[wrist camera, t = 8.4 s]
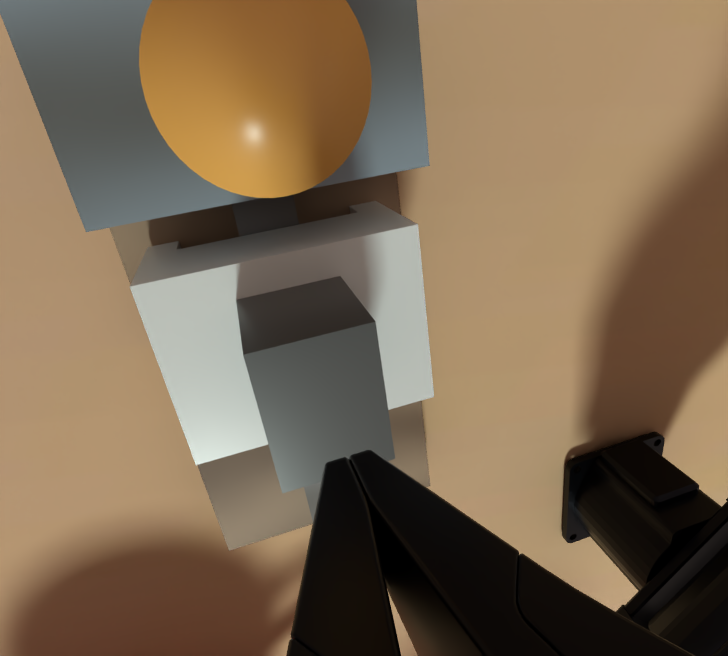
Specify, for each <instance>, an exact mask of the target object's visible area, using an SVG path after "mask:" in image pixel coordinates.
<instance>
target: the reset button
mask: <svg viewBox="0 0 728 656" xmlns="http://www.w3.org/2000/svg"><path fill="white" fill-rule="evenodd" d="M139 68H140V77H141V84H142V88H143V92H144V97H145V100H146V103H147V106H148V109H149V111H150V114H151V117H152V118H153V120H154V122H155V124H156V126H157V128H158V130H159V132H160V134H161V135H162V137H163V138H164V140H165V141H166V143H167V144H168V146H169V147H170V148H171V149H172V150H173V152H174V153H175V154H176V155H177V156H178V157H179V159H180V160H182V161H183V162H184V163H185V164H186V165H187V166H188V167H189V168H190V169H191V170H192V171H194V172H195V173H197V174H198V175H199V176H201V177H202V178H203V179H205V180H207V181H209V182H210V183H212V184H214V185H216V186H217V187H220V188H222V189H225V190H227V191H230V192H232V193H236V194H240V195H243V196H249V197H256V198H277V197H285V196H289V195H293V194H297V193H300V192H303V191H305V190H307V189H310V188H312V187H314V186H316V185H317V184H319V183H321V182H322V181H324V180H325V179H326V178H328V177H329V176H330V175H332V174H333V173H334V172H335V171H336V170H337V169H338V168H339V167H340V166H341V165H342V164H343V163H344V162H345V160H346V159H347V158H348V156H349V155H350V154H351V152H352V151H353V149H354V147H355V146H356V144H357V142H358V140H359V138H360V136H361V133H362V131H363V129H364V126H365V123H366V119H367V116H368V112H369V106H370V100H371V87H372V78H371V65H370V59H369V53H368V49H367V45H366V42H365V38H364V35H363V32H362V30H361V28H360V25H359V23H358V20H357V18H356V16H355V15H354V13H353V11H352V9H351V7H350V6H349V4H348V2H347V1H346V0H152V2H151V4H150V6H149V9H148V11H147V13H146V17H145V20H144V24H143V27H142V32H141V39H140V46H139Z"/></svg>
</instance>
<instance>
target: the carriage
mask: <svg viewBox="0 0 728 656" xmlns="http://www.w3.org/2000/svg"><path fill="white" fill-rule="evenodd" d="M349 208H350V214H347V215H342V216H337V217H332V218H328V219H323V220H318V221H313V222H308V223H303V224H298V225H294V226H289V227H284V228H279V229H274V230H269V231H265V232H260V233H255V234H250V235H245V236H240V237H235V238H231V239H226V240H221V241H216V242H211V243H206V244H202V245H197V246H192V247H187V248H182V249H181V247H180V244H179V241H175V242H170V243H165V244H161V245H156V246H151V247H148V248H147V250H146V252H145V255H144V257H143V259H142V261H141V263H140V265H139V267H138V270H137V272H136V274H135V276H134V278H133V280H132V283H131V285H130V289H131V292H132V294H133V297H134V300H135V302H136V305H137V308H138V311H139V313H140V316H141V319H142V321H143V324H144V327H145V329H146V332H147V335H148V337H149V340H150V343H151V345H152V348H153V351H154V354H155V356H156V359H157V362H158V364H159V367H160V370H161V372H162V375H163V378H164V380H165V383H166V386H167V388H168V391H169V394H170V397H171V399H172V402H173V405H174V407H175V410H176V413H177V415H178V418H179V421H180V423H181V426H182V429H183V431H184V434H185V437H186V439H187V442H188V445H189V448H190V450H191V453H192V456H193V458H194V461H195V464H196V465H198V464H202V463H205V462H209V461H212V460H216V459H219V458H223V457H226V456H230V455H233V454H237V453H240V452H244V451H247V450H251V449H254V448H258V447H261V446H265V445H269V448H270V452H271V455H272V459H273V462H274V466H275V469H276V473H277V476H278V480H279V483H280V487H281V490H282V494H283V493H286V492H289V491H292V490H296V489H299V488H302V487H305V486H309V485H312V484H315V483H318V482H321V480H322V475H323V470H324V466H325V464H326V463H327V462H329V461H333V460H336V459H339V458H343V457H346V458H348V459H349V457H350V456H351V455H352V454H356V453H359V452H362V451H365V450H372V451H374V452H375V453H377V454H378V455H380V456H381V457H383V458H384V459H386V460H387V461H390V460H393V459H395V453H394V446H393V439H392V432H391V425H390V418H389V411H388V410H390V409H393V408H397V407H400V406H404V405H407V404H411V403H414V402H418V401H421V400H425V399H428V398H431V397H434V390H433V379H432V369H431V358H430V348H429V337H428V326H427V316H426V305H425V295H424V284H423V273H422V263H421V252H420V242H419V231H418V224H416V223H415V222H413V221H411V220H409V219H407V218H406V217H404V216H402V215H400V214H398V213H397V212H395V211H393V210H391V209H389V208H388V207H386V206H384V205H382V204H380V203H379V202H377V201H372V202H367V203H362V204H357V205H352V206H349Z"/></svg>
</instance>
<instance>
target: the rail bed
mask: <svg viewBox="0 0 728 656" xmlns="http://www.w3.org/2000/svg"><path fill="white" fill-rule="evenodd" d="M346 1H347V2H348V4H349V6H350V7H351V9H352V11H353V13H354V15H355V16H356V18H357V20H358V23H359V25H360V28H361V30H362V32H363V35H364V38H365V42H366V45H367V49H368V53H369V59H370V65H371V78H372V87H371V100H370V106H369V112H368V116H367V119H366V123H365V126H364V129H363V131H362V133H361V136H360V138H359V140H358V142H357V144H356V146H355V147H354V149H353V151H352V152H351V154H350V155H349V156H348V158H347V159H346V160H345V162H344V163H343V164H342V165H341V166H340V167H339V168H338V169H337V170H336V171H335V172H334V173H333V174H332V175H330V176H329V177H328V178H326V179H325V180H324V181H322V182H321V183H319V184H317V185H316V186H314V187H312V188H310V189H307V190H305V191H303V192H300V193H297V194H293V195H289V196H285V197H277V198H256V197H249V196H243V195H240V194H236V193H232V192H230V191H227V190H225V189H222V188H220V187H217V186H216V185H214V184H212V183H210V182H209V181H207V180H205V179H203V178H202V177H201V176H199V175H198V174H197V173H195V172H194V171H192V170H191V169H190V168H189V167H188V166H187V165H186V164H185V163H184V162H183V161H182V160H180V159H179V157H178V156H177V155H176V154H175V153H174V152H173V150H172V149H171V148H170V147H169V146H168V144H167V143H166V141H165V140H164V138H163V137H162V135H161V134H160V132H159V130H158V128H157V126H156V124H155V122H154V120H153V118H152V117H151V114H150V111H149V109H148V106H147V103H146V100H145V97H144V92H143V88H142V84H141V77H140V68H139V46H140V39H141V32H142V27H143V24H144V20H145V17H146V13H147V11H148V9H149V6H150V4H151V2H152V0H0V14H1V17H2V19H3V22H4V24H5V27H6V29H7V32H8V34H9V37H10V39H11V42H12V45H13V47H14V50H15V52H16V55H17V57H18V60H19V62H20V65H21V67H22V70H23V73H24V75H25V78H26V80H27V83H28V85H29V88H30V90H31V93H32V95H33V98H34V101H35V103H36V106H37V108H38V111H39V113H40V116H41V118H42V121H43V123H44V126H45V129H46V131H47V134H48V136H49V139H50V141H51V144H52V146H53V149H54V151H55V154H56V157H57V159H58V162H59V164H60V167H61V169H62V172H63V174H64V177H65V179H66V182H67V185H68V187H69V190H70V192H71V195H72V197H73V200H74V202H75V205H76V207H77V210H78V213H79V215H80V218H81V220H82V223H83V225H84V228H85V230H86V232H89V231H94V230H99V229H105V228H110V231H111V233H112V236H113V239H114V241H115V244H116V247H117V250H118V252H119V255H120V258H121V260H122V263H123V266H124V268H125V271H126V274H127V277H128V279H129V282H130V285H131V283H132V280H133V278H134V276H135V274H136V272H137V270H138V267H139V265H140V263H141V261H142V259H143V257H144V255H145V252H146V250H147V248H148V247H151V246H156V245H161V244H165V243H170V242H175V241H179V244H180V247H181V249H182V248H187V247H192V246H197V245H202V244H206V243H211V242H216V241H221V240H226V239H231V238H235V237H240V236H245V235H250V234H255V233H260V232H265V231H269V230H274V229H279V228H284V227H289V226H294V225H298V224H303V223H308V222H313V221H318V220H323V219H328V218H332V217H337V216H342V215H347V214H350V208H349V206H352V205H357V204H362V203H367V202H372V201H377V202H379V203H380V204H382V205H384V206H386V207H388V208H389V209H391V210H393V211H395V212H397V213H398V214H400V215H401V211H400V202H399V193H398V183H397V174H396V172H399V171H404V170H410V169H415V168H420V167H425V166H430V165H429V153H428V140H427V128H426V115H425V103H424V90H423V78H422V65H421V52H420V40H419V27H418V15H417V2H416V0H346ZM388 411H389V418H390V425H391V432H392V439H393V446H394V453H395V459H393V460H390V461H389V462H390V463H391V464H393V465H394V466H396V467H397V468H399V469H400V470H402V471H403V472H405V473H406V474H407V475H409V476H410V477H412V478H413V479H415V480H416V481H418V482H419V483H421V484H422V485H423V486H425V487H428V486H430V478H429V469H428V460H427V451H426V442H425V432H424V423H423V414H422V405H421V401H418V402H414V403H411V404H407V405H404V406H400V407H397V408H393V409H390V410H388ZM198 468H199V471H200V473H201V476H202V479H203V482H204V484H205V487H206V490H207V492H208V495H209V498H210V500H211V503H212V506H213V509H214V511H215V514H216V517H217V519H218V522H219V525H220V527H221V530H222V533H223V536H224V538H225V541H226V544H227V546H228V549H229V551H230V550H233V549H236V548H240V547H243V546H246V545H249V544H252V543H255V542H258V541H261V540H264V539H267V538H270V537H274V536H277V535H280V534H283V533H286V532H289V531H292V530H295V529H298V528H301V527H305V526H308V525H311V524H313V520H314V515H315V510H316V505H317V500H318V495H319V490H320V485H321V482H318V483H315V484H312V485H309V486H305V487H302V488H299V489H296V490H292V491H289V492H286V493H283V494H282V490H281V487H280V483H279V480H278V476H277V473H276V469H275V466H274V462H273V459H272V455H271V452H270V448H269V445H265V446H261V447H258V448H254V449H251V450H247V451H244V452H240V453H237V454H233V455H230V456H226V457H223V458H219V459H216V460H212V461H209V462H205V463H202V464H198Z"/></svg>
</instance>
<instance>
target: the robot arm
mask: <svg viewBox="0 0 728 656" xmlns="http://www.w3.org/2000/svg"><path fill="white" fill-rule="evenodd" d="M663 447H664V437H663V436H662V435H661V434H659V433H658V432H652V433H649V434H646V435H643V436H640V437H637V438H634V439H631V440H628V441H625V442H622V443H619V444H616V445H613V446H610V447H607V448H604V449H601V450H598V451H595V452H592V453H589V454H586V455H583V456H580V457H577V458H574V459H572V460H570V461H569V462H568V463H567V464H566V467H565V486H564V507H563V528H562V536H563V538H564V539H565V540H566V541H567V542H568V543H573V542H576V541H579V540H581V539H584V538H587V537H589V536H590V537H591V538H592V539H593V540H594V541H595V542H596V543H597V545H598V546H599V547H600V548H601V549H602V550H603V551H604V552H605V554H606V555H607V556H608V557H609V558H610V559H611V560H612V562H613V563H614V564H615V565H616V566H617V567H618V568H619V569H620V571H621V572H622V573H623V574H624V575H625V576H626V577H627V578H628V580H629V581H630V582H631V583H632V584H633V585H634V586H635V587H636V589H637V590H638V591H639V592H638V593H637V594H636V595H635V596H634V597H633V598H632V599H631V600H630V601H629V602H628V603H627V604H626V605H622V606H621V607H620V608H619V609H618V610H617V611H616V612H615V611H613V610H611V609H610V608H608V607H606V606H604V605H603V604H601V603H599V602H598V601H596V600H594V599H592V598H591V597H589V596H587V595H586V594H584V593H582V592H580V591H579V590H577V589H575V588H574V587H572V586H571V585H569V584H568V583H566V582H564V581H563V580H561V579H560V578H558V577H557V576H555V575H554V574H552V573H551V572H549V571H548V570H546V569H544V568H543V567H541V566H540V565H539V564H537V563H536V562H534V561H533V560H531V559H530V558H528V557H527V556H526V555H524V554H520V555H519V552H518V550H517V549H515V548H514V547H512V546H511V545H509V544H508V543H506V542H505V541H503V540H502V539H501V538H499V537H498V536H496V535H495V534H493V533H492V532H490V531H489V530H487V529H486V528H485V527H483V526H482V525H480V524H479V523H477V522H476V521H474V520H473V519H471V518H470V517H469V516H467V515H466V514H464V513H463V512H461V511H460V510H458V509H457V508H455V507H454V506H453V505H451V504H450V503H448V502H447V501H445V500H444V499H442V498H441V497H439V496H438V495H437V494H435V493H434V492H432V491H431V490H429V489H428V488H426V487H425V486H423V485H422V484H421V483H419V482H418V481H416V480H415V479H413V478H412V477H410V476H409V475H407V474H406V473H405V472H403V471H402V470H400V469H399V468H397V467H396V466H394V465H393V464H391V463H390V462H389V461H387V460H386V459H384V458H383V457H381V456H380V455H378V454H377V453H375V452H374V451H372V450H365V451H362V452H359V453H356V454H352V455H351V456H350V457H349V459H348V458H346V457H343V458H339V459H336V460H333V461H329V462H327V463H326V464H325V466H324V470H323V475H322V480H321V485H320V490H319V495H318V500H317V505H316V510H315V515H314V520H313V525H312V530H311V535H310V540H309V545H308V550H307V555H306V561H305V566H304V571H303V576H302V581H301V586H300V591H299V596H298V601H297V606H296V611H295V616H294V621H293V626H292V631H291V638H292V639H291V640H290V641H289V645H288V650H287V655H286V656H401V653H400V648H399V643H398V639H397V634H396V629H395V624H394V620H393V615H392V610H391V605H390V601H389V596H388V592H389V594H390V596H391V598H392V601H393V603H394V605H395V607H396V609H397V611H398V613H399V616H400V618H401V620H402V622H403V624H404V626H405V628H406V630H407V633H408V635H409V637H410V639H411V641H412V643H413V645H414V648H415V650H416V652H417V654H418V656H728V498H727V499H726V500H727V502H726V503H725V504H724V505H723V506H722V507H721V506H720V505H719V504H718V503H716V502H715V501H714V500H712V499H711V498H710V497H709V496H707V495H706V494H705V493H703V492H702V491H701V490H700V489H699V485H698V484H697V483H696V482H695V481H694V480H692V479H691V478H690V477H689V476H687V475H686V474H685V473H683V472H682V471H681V470H679V469H678V468H677V467H676V466H674V465H673V464H672V463H670V462H669V461H668V460H666V459H665V458H664V457H663V456H662V453H663ZM387 589H388V591H387Z"/></svg>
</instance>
